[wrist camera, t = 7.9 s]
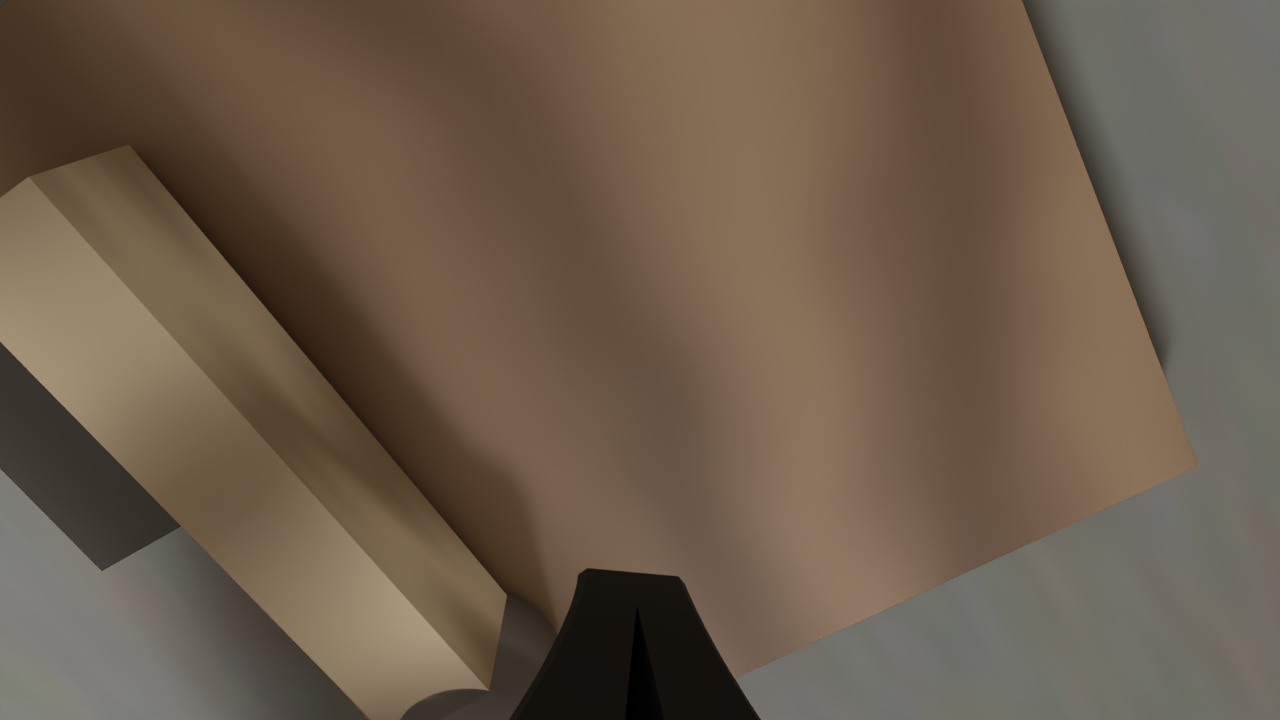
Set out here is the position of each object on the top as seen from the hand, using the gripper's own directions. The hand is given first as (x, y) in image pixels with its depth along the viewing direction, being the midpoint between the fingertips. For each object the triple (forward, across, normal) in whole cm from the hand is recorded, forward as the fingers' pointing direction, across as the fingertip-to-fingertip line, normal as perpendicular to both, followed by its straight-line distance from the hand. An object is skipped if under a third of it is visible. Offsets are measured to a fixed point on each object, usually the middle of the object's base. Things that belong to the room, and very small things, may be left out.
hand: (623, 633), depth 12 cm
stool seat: (+9, +1, -2) cm, 10 cm away
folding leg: (+7, +6, +2) cm, 10 cm away
